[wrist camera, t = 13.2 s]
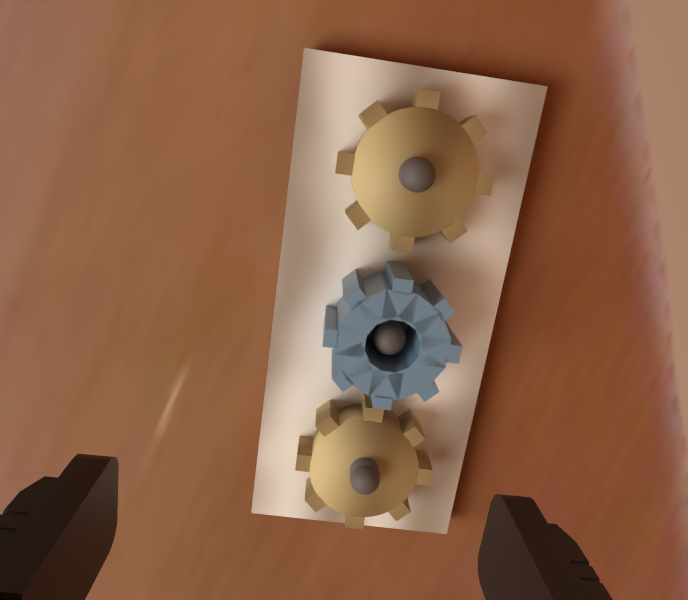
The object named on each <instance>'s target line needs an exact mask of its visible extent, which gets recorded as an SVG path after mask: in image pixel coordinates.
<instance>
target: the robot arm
mask: <svg viewBox="0 0 688 600" xmlns="http://www.w3.org/2000/svg"><path fill="white" fill-rule="evenodd" d="M117 508H118V460H117V458H116V457H108V456H97V455H87V454H77V455H76V456H75V457H74V458H73V459H72V461H71V462H70V463H69V464H68V466H67V467H66V468H65V469H64V471H63V472H62V473H61V475H60V476H59V477H58V478H55V477H43V478H41V479H40V480H38V481H36V482H35V483H33V484H32V485H30V486H28V487H27V488H25V489H24V490H22V491H20V492H19V493H18V495H17V496H16V497H15V498H14V499H13V500H12V502H11V503H10V504H9V505H8V506H7V507H6V508H5V510H4V512H3V514H2V515H0V600H85V598H86V596H87V595H88V593H89V591H90V589H91V587H92V585H93V583H94V581H95V579H96V577H97V575H98V573H99V571H100V569H101V567H102V566H103V564H104V562H105V560H106V558H107V556H108V554H109V552H110V549H111V547H112V544H113V540H114V537H115V532H116V526H117ZM478 575H479V581H480V585H481V588H482V591H483V593H484V596H485V599H486V600H612V598H611V596H610V595H609V593H608V592H607V590H606V588H605V587H604V585H603V584H602V583H600V582H599V577H598V576H597V574H596V573H595V571H594V569H593V568H592V566H589V562H588V560H587V558H586V557H585V555H584V554H583V552H582V550H581V549H580V547H579V546H578V544H577V543H576V542H575V541H574V540H573V539H572V538H571V537H570V536H569V535H568V534H567V533H565V532H564V531H563V530H562V529H561V528H560V527H559V526H558V525H556V524H549V523H547V521H546V520H545V518H544V516H543V515H542V513H541V511H540V510H539V508H538V506H537V504H536V503H535V501H534V500H533V499H532V498H530V497H521V496H510V495H500V494H496V495H495V496H494V497H493V499H492V501H491V505H490V509H489V513H488V517H487V521H486V525H485V529H484V533H483V537H482V542H481V546H480V550H479V555H478Z"/></svg>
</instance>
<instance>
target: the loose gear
mask: <svg viewBox="0 0 688 600" xmlns="http://www.w3.org/2000/svg"><path fill="white" fill-rule="evenodd" d="M342 289H343V296H342V297H341V298H340V300H339V301H338V302H337V307H334V306H327V305H326V308H325V316H324V326H323V346H322V347H328V348H333V349H332V380H333V381H334V382H335V383H336V385H337V386H338V387H339V388H340V390H341V391H342V392H344V391H346V390H347V389H348V388H350V387H351V386H353V385H354V386H355V387H356V388H358V389H359V390H361V391H362V392H363V393H365V394H366V395H368V396H369V397H371V401H372V407H373V408H375V409H383V410H391V406H392V401H393V399H394V400H400V399H402V398H405V397H408V396H410V395H413V394H416V393H418V395H419V396H420V397H421V398H422V400H423V401H424V402H425V401H427V400H428V399H430V398H431V397H433V396H434V395H436V394H437V393H439V389H438V387H437V385H436V383H435V379H436V378H437V377H438V375H439V374H440V373H441V372H442V371H443V370H444V369H445V368H446V363H447V362H449V363H457V364H459V361H460V356H461V351H462V345H461V343H460V342H459V340H458V339H457V337H456V336H455V334H454V333H453V331H452V330H451V328H450V327H449V325H448V324H447V322H446V321H445V320H447V319H448V318H450V317H451V316H452V315H454V314H455V312H454V311H453V309H452V308H451V306H450V305H449V304H448V302H447V301H446V300H445V298H444V297H443V296H442V294H441V293H440V292H439V290H438V289H437V288H436V286H435V285H434V284H433V282H432V281H431V280H430V279H429V280H428V281H426V282H425V283H423V284H422V285H421V286H420V285H419V284H417V283H416V282H415V281H414V280H413V278H412V277H411V275H410V274H409V272H408V270H407V269H406V267H405V266H404V264H403V263H398V262H390V261H386V266H385V272H381V271H379V272H376V273H374V274H371V275H369V276H366V277H364V278H362V277H361V276H360V274H359V273H358V272H357V271H356V269H355V270H353V271H352V272H351V273H349V274H348V275H346V276H345V277H344V278H342ZM388 320H396V321H404V322H406V323H407V324H408V328H407V331H406V332H405V336H406V341H405V345H404V347H403V348H402V350H401V351H399V352H398V353H396V354H393V355H387V354H383V353H381V352H380V351H379V350H378V349H377V348H376V347H375V344H374V341H372V340H371V339H369V338H368V337H367V335H368V334H369V333H370V332H371V330H372V329H373V328H374V327H375V326H376V325H377V324H380V323H383V322H385V321H388Z"/></svg>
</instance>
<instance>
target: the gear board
mask: <svg viewBox="0 0 688 600" xmlns="http://www.w3.org/2000/svg"><path fill="white" fill-rule="evenodd" d="M547 87H548V86H542V85H536V84H529V83H523V82H517V81H510V80H504V79H498V78H491V77H485V76H479V75H473V74H466V73H460V72H454V71H447V70H441V69H435V68H428V67H422V66H416V65H410V64H403V63H397V62H391V61H384V60H378V59H372V58H365V57H359V56H353V55H346V54H340V53H334V52H328V51H321V50H315V49H309V48H304V54H303V62H302V71H301V80H300V89H299V98H298V106H297V115H296V124H295V133H294V142H293V150H292V159H291V168H290V177H289V185H288V194H287V203H286V212H285V221H284V229H283V238H282V247H281V256H280V265H279V273H278V282H277V291H276V300H275V308H274V317H273V326H272V335H271V344H270V352H269V361H268V370H267V379H266V388H265V396H264V405H263V414H262V423H261V431H260V440H259V449H258V458H257V467H256V475H255V484H254V493H253V502H252V511H251V513H257V514H267V515H276V516H285V517H294V518H303V519H313V520H322V521H331V522H340V523H345V527H348V528H357V529H363V526H364V525H368V526H377V527H386V528H396V529H405V530H414V531H423V532H432V533H442V534H447V530H448V525H449V521H450V516H451V512H452V508H453V503H454V499H455V494H456V490H457V486H458V481H459V477H460V472H461V468H462V463H463V459H464V455H465V450H466V446H467V441H468V437H469V432H470V428H471V424H472V419H473V415H474V410H475V406H476V401H477V397H478V393H479V388H480V384H481V379H482V375H483V370H484V366H485V362H486V357H487V353H488V348H489V344H490V339H491V335H492V331H493V326H494V322H495V317H496V313H497V309H498V304H499V300H500V295H501V291H502V286H503V282H504V278H505V273H506V269H507V264H508V260H509V255H510V251H511V247H512V242H513V238H514V233H515V229H516V224H517V220H518V216H519V211H520V207H521V202H522V198H523V193H524V189H525V185H526V180H527V176H528V171H529V167H530V163H531V158H532V154H533V149H534V145H535V140H536V136H537V132H538V127H539V123H540V118H541V114H542V109H543V105H544V101H545V96H546V92H547ZM386 261H390V262H398V263H403V264H404V266H405V267H406V269H407V270H408V272H409V274H410V275H411V277H412V278H413V280H414V281H415V282H416V283H417V284H419V285H420V286H421V285H422V284H423V283H425V282H426V281H428V280H429V279H430V280H431V281H432V282H433V284H434V285H435V286H436V288H437V289H438V290H439V292H440V293H441V294H442V296H443V297H444V298H445V300H446V301H447V302H448V304H449V305H450V306H451V308H452V309H453V311H454V312H455V314H454V315H452V316H451V317H450V318H448V319H447V320H445V321H446V322H447V324H448V325H449V327H450V328H451V330H452V331H453V333H454V334H455V336H456V337H457V339H458V340H459V342H460V343H461V345H462V351H461V356H460V361H459V364H457V363H449V362H447V363H446V368H445V369H444V370H443V371H442V372H441V373H440V374H439V375H438V377H437V378H436V379H435V383H436V385H437V387H438V389H439V393H437V394H436V395H434V396H433V397H431V398H430V399H428V400H427V401H425V402H424V401H423V400H422V398H421V397H420V396H419V395H418V393H416V394H413V395H410V396H408V397H405V398H402V399H400V400H394V399H393V401H392V406H391V410H383V409H375V408H373V407H372V401H371V397H369V396H368V395H366V394H365V393H363V392H362V391H361V390H359V389H358V388H356V387H355V386H354V385H353V386H351V387H350V388H348V389H347V390H346V391H344V392H342V391H341V390H340V388H339V387H338V386H337V385H336V383H335V382H334V381H333V380H332V349H333V348H328V347H322V346H323V326H324V316H325V308H326V305H327V306H334V307H337V302H338V301H339V300H340V298H341V297H342V296H343V289H342V278H344V277H345V276H346V275H348V274H349V273H351V272H352V271H353V270H355V269H356V271H357V272H358V273H359V274H360V276H361V277H362V278H364V277H366V276H369V275H371V274H374V273H376V272H379V271H381V272H385V266H386ZM407 328H408V324H407V323H406V322H404V321H396V320H388V321H385V322H383V323H380V324H377V325H376V326H375V327H374V328H373V329H372V330H371V332H370V333H369V334H368V335H367V337H368V338H369V339H371V340H372V341H374V344H375V347H376V348H377V349H378V350H379V351H380V352H381V353H383V354H387V355H393V354H396V353H398V352H399V351H401V350H402V348H403V347H404V345H405V341H406V336H405V332H406V331H407Z"/></svg>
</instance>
